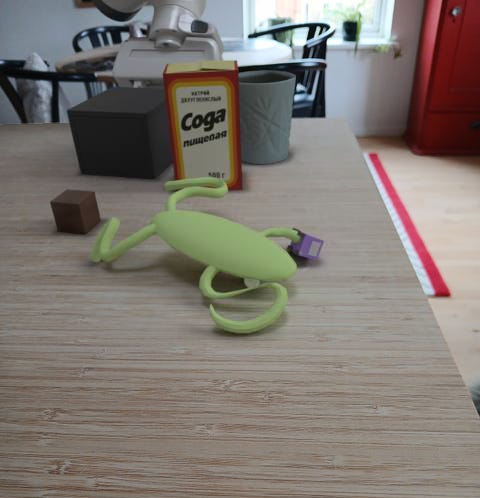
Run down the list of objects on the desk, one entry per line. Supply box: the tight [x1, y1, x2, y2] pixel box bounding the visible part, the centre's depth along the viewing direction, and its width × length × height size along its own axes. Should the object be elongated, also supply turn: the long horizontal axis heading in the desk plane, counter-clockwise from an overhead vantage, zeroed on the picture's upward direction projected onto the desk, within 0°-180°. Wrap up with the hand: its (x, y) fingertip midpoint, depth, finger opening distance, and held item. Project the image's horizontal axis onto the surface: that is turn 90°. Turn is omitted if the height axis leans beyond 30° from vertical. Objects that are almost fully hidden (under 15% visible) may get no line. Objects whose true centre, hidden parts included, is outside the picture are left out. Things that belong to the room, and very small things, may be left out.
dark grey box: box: [66, 86, 173, 180], centre depth 82 cm, size 15×13×10 cm
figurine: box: [90, 177, 325, 334], centre depth 56 cm, size 18×27×6 cm
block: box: [49, 188, 101, 235], centre depth 65 cm, size 4×4×4 cm
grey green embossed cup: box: [239, 69, 297, 165], centre depth 81 cm, size 10×10×12 cm
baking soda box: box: [163, 59, 243, 192], centre depth 71 cm, size 10×6×16 cm
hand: (160, 108), depth 91 cm, fingers closed on basket, 6 cm apart
